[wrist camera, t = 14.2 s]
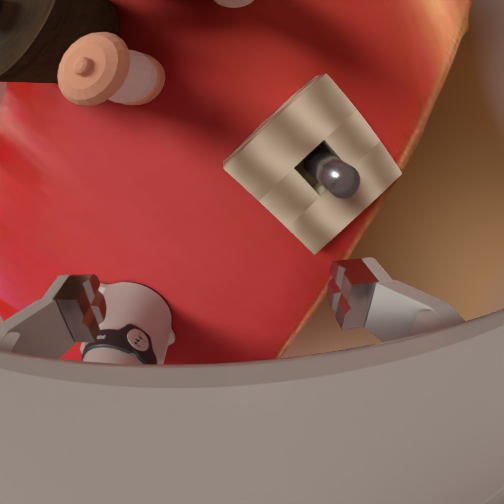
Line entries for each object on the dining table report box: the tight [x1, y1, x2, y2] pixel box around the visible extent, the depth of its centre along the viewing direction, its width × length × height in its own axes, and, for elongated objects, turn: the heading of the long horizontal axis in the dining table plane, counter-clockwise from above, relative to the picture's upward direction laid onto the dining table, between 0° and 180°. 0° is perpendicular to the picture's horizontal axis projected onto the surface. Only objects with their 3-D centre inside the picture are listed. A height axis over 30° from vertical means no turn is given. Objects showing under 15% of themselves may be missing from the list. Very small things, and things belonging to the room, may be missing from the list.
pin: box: [304, 149, 360, 199], centre depth 36 cm, size 4×4×10 cm
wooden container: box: [0, 0, 119, 83], centre depth 18 cm, size 15×15×22 cm
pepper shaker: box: [57, 32, 165, 106], centre depth 24 cm, size 7×7×19 cm
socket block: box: [223, 73, 402, 255], centre depth 39 cm, size 18×18×5 cm
